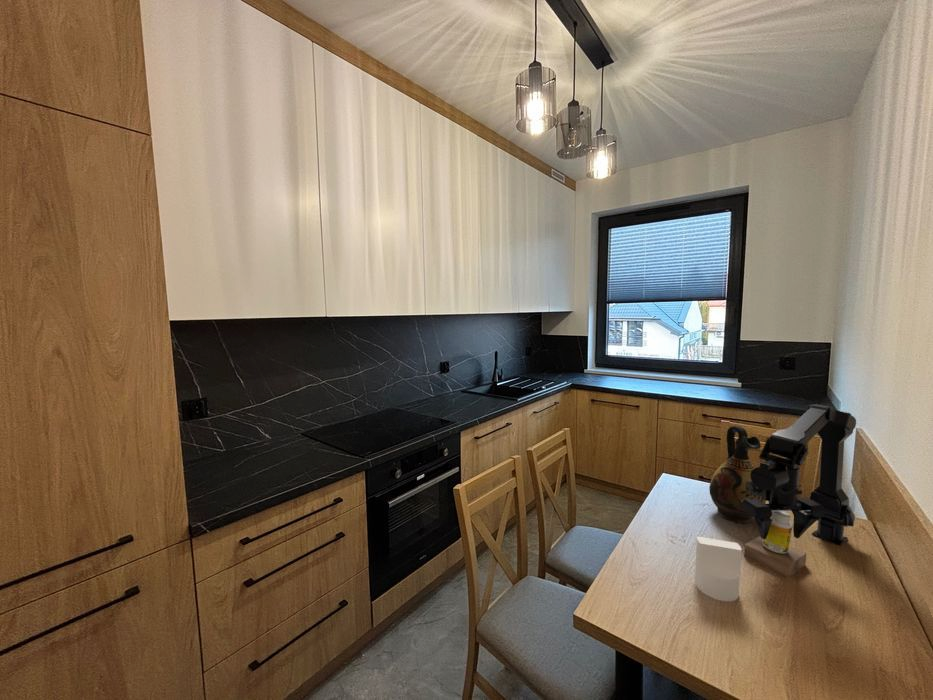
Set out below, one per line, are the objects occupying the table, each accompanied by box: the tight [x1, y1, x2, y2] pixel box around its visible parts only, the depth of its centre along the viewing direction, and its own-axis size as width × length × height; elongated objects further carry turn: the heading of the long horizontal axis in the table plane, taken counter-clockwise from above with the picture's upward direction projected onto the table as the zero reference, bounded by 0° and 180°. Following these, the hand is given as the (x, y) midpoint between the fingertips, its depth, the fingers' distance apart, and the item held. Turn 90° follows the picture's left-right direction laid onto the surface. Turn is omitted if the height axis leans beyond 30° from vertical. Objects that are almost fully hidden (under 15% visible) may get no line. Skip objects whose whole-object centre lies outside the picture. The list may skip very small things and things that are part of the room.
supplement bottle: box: [762, 511, 793, 554], centre depth 102 cm, size 6×6×10 cm
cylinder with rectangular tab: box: [694, 536, 742, 602], centre depth 92 cm, size 9×9×12 cm
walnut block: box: [743, 535, 807, 578], centre depth 103 cm, size 10×10×4 cm
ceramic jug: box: [708, 425, 767, 524], centre depth 125 cm, size 17×15×30 cm
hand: (779, 538), depth 101 cm, fingers open, 9 cm apart
